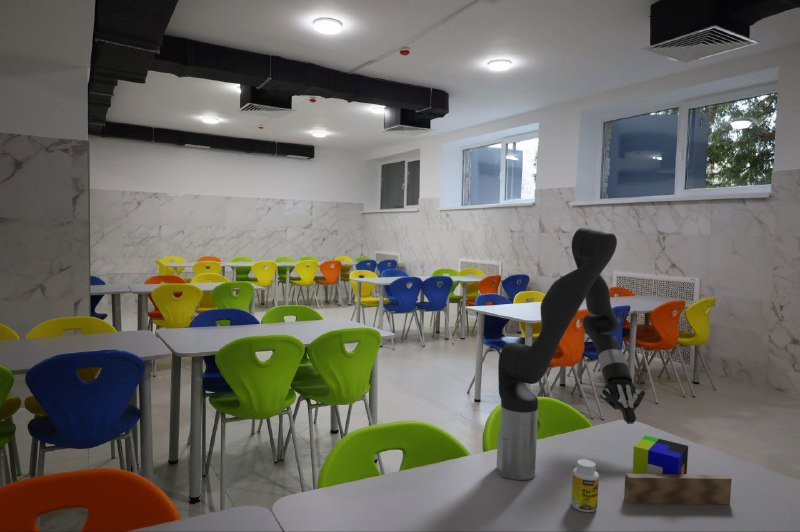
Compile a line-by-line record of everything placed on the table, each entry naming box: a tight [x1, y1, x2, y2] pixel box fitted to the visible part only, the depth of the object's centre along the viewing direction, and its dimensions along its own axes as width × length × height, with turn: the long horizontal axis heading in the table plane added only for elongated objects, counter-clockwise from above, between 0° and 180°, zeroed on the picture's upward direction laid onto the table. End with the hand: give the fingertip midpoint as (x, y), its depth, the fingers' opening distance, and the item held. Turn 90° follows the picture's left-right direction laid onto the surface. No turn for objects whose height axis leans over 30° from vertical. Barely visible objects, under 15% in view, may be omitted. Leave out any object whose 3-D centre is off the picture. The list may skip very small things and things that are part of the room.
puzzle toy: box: [631, 434, 689, 474], centre depth 129 cm, size 10×10×10 cm
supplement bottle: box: [570, 458, 600, 513], centre depth 118 cm, size 6×6×10 cm
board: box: [623, 473, 732, 505], centre depth 121 cm, size 24×2×6 cm, turn 92°
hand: (631, 422), depth 144 cm, fingers closed
